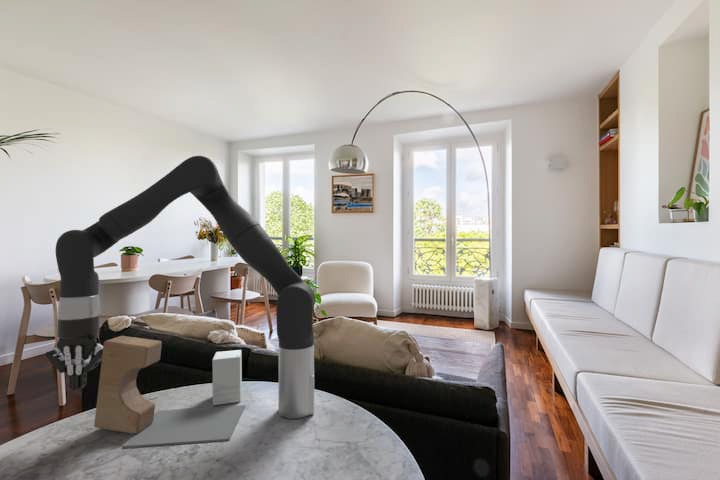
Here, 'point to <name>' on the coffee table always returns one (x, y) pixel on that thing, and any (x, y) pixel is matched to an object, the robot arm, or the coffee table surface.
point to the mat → (188, 426)
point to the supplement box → (227, 377)
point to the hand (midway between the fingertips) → (77, 389)
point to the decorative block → (125, 384)
